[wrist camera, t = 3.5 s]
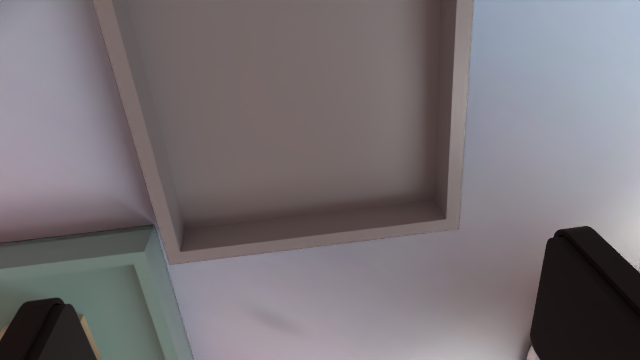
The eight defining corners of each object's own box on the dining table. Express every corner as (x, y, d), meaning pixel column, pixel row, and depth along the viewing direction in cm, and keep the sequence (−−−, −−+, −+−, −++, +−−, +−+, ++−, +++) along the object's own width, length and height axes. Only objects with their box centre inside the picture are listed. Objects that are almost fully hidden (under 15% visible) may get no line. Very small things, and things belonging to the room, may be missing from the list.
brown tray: (458, -101, 20) (480, -103, 18) (444, 205, 28) (458, 228, 25) (94, -66, 20) (73, -64, 18) (176, 237, 27) (168, 264, 25)
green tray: (154, 224, 26) (144, 251, 24) (207, 406, 34) (203, 439, 31) (-133, 259, 26) (-169, 289, 24) (-16, 437, 33) (-36, 472, 31)
